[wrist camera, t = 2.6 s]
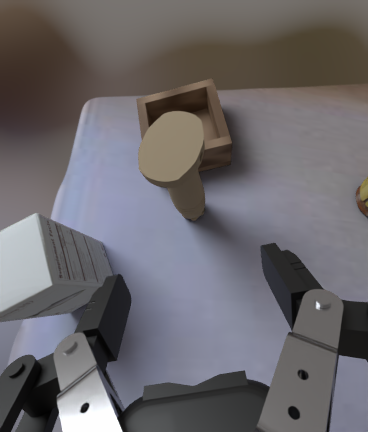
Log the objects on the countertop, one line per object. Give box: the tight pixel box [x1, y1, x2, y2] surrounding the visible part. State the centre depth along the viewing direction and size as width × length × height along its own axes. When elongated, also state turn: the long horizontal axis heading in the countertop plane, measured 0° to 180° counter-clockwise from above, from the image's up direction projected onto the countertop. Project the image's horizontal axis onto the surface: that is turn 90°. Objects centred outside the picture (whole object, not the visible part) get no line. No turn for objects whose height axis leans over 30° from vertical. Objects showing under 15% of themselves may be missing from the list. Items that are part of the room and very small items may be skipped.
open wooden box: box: [136, 78, 232, 172], centre depth 33 cm, size 11×11×5 cm
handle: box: [138, 111, 205, 221], centre depth 24 cm, size 5×6×15 cm
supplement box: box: [0, 213, 113, 322], centre depth 25 cm, size 7×7×13 cm
